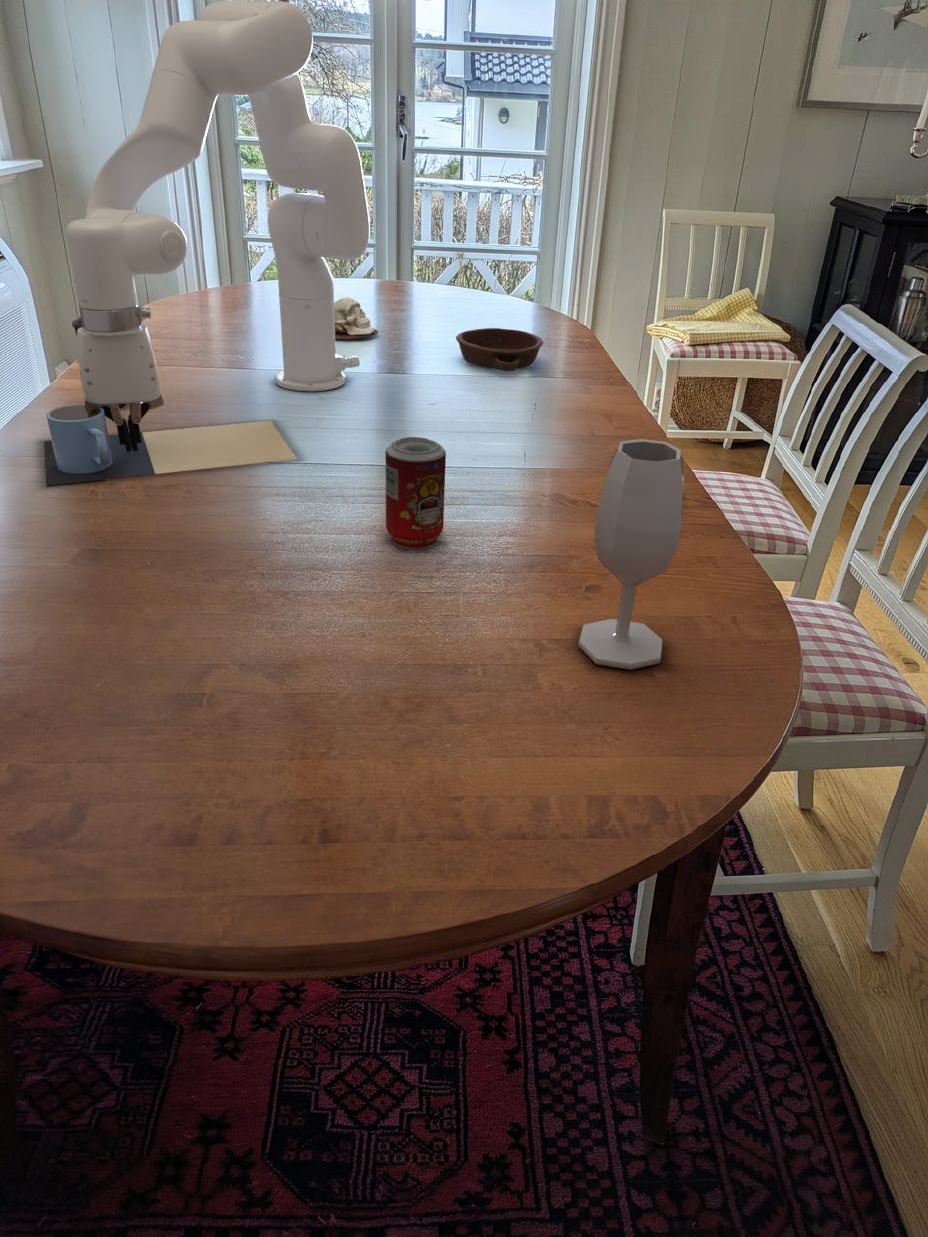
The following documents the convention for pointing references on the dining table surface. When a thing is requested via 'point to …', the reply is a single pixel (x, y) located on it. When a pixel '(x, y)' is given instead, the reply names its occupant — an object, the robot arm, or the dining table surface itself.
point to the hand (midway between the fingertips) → (131, 448)
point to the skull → (351, 320)
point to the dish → (499, 348)
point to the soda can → (415, 492)
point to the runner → (182, 452)
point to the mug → (80, 439)
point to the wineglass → (635, 544)
